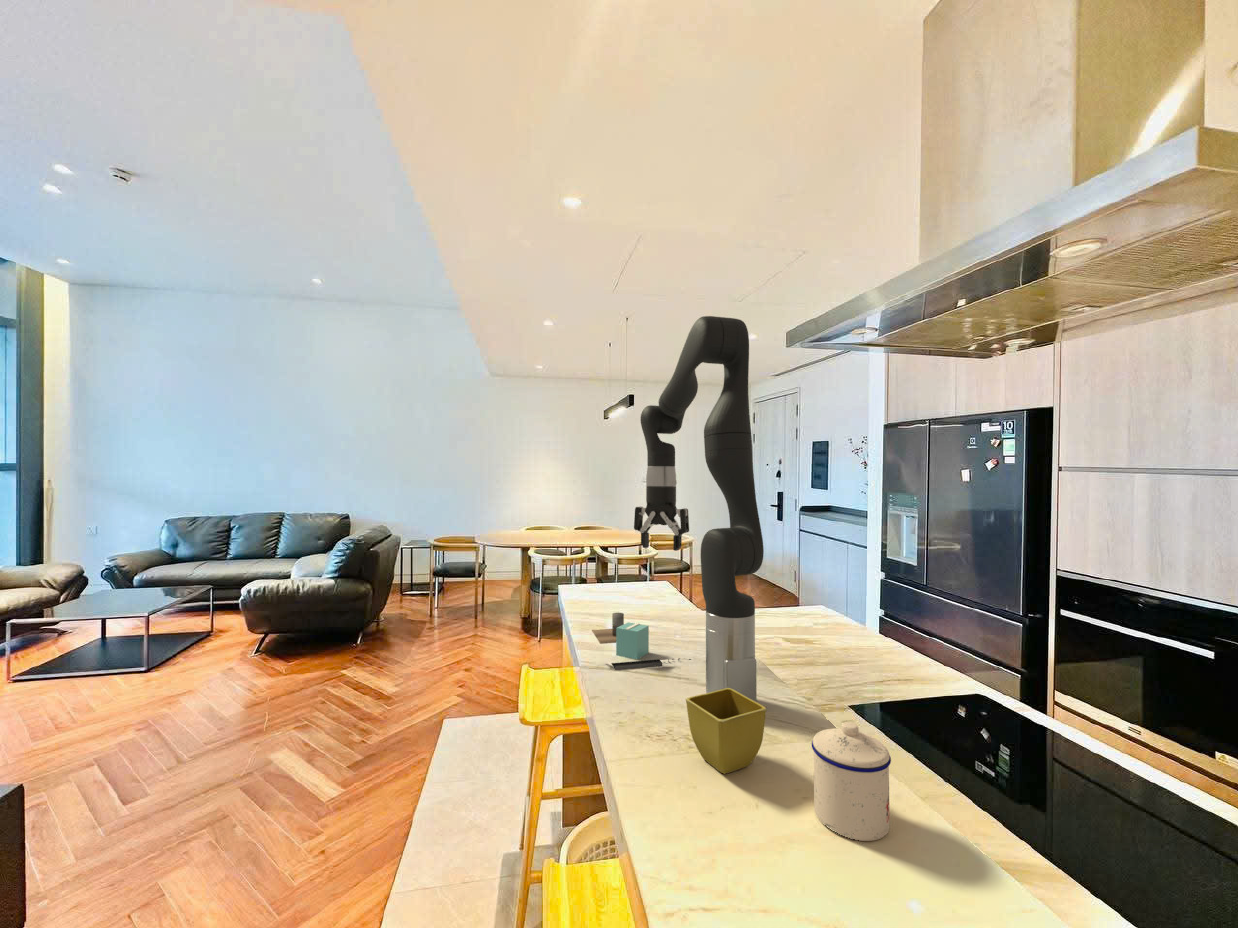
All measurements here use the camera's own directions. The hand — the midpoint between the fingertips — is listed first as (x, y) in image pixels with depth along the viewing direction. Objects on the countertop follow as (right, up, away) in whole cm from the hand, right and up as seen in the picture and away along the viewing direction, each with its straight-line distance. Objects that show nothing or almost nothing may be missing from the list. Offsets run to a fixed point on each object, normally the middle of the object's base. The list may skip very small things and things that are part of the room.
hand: (660, 548), depth 130 cm
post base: (-11, -25, +6) cm, 28 cm away
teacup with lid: (+18, -23, -64) cm, 70 cm away
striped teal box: (-7, -24, -8) cm, 27 cm away
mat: (-7, -25, -8) cm, 27 cm away
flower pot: (+5, -24, -52) cm, 58 cm away
